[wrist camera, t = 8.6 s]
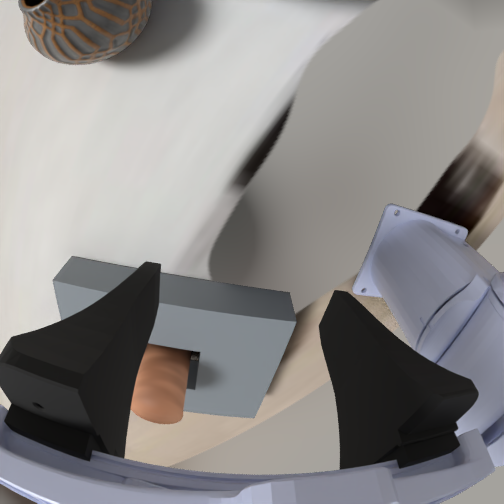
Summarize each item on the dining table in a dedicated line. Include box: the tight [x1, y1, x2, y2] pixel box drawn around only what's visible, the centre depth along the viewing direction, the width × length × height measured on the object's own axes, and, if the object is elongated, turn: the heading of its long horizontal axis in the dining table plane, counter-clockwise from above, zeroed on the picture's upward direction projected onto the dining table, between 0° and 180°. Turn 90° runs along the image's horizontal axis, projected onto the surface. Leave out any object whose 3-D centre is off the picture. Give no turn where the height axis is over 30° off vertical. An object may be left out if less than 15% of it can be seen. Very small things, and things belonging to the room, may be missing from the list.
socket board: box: [53, 256, 297, 418], centre depth 24 cm, size 18×14×4 cm
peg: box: [131, 343, 192, 424], centre depth 22 cm, size 4×4×8 cm
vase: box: [18, 0, 152, 65], centre depth 9 cm, size 7×7×9 cm
